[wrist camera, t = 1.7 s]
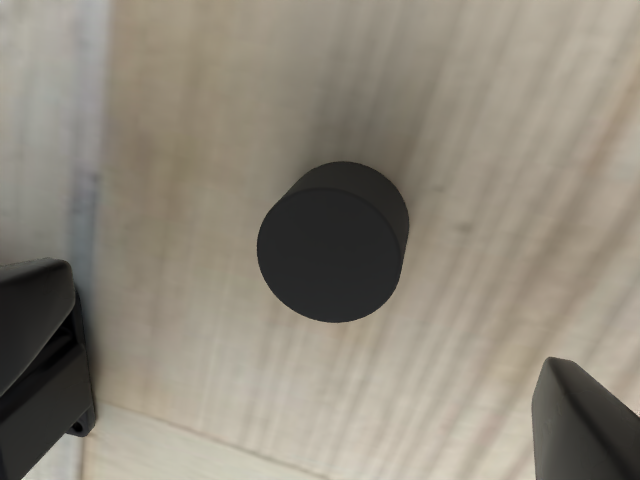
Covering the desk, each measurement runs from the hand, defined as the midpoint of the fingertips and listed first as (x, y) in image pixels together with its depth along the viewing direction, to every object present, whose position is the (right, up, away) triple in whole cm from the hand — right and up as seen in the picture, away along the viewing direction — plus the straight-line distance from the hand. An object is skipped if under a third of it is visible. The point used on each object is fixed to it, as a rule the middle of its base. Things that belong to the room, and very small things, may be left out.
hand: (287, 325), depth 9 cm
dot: (+1, +2, +5) cm, 5 cm away
